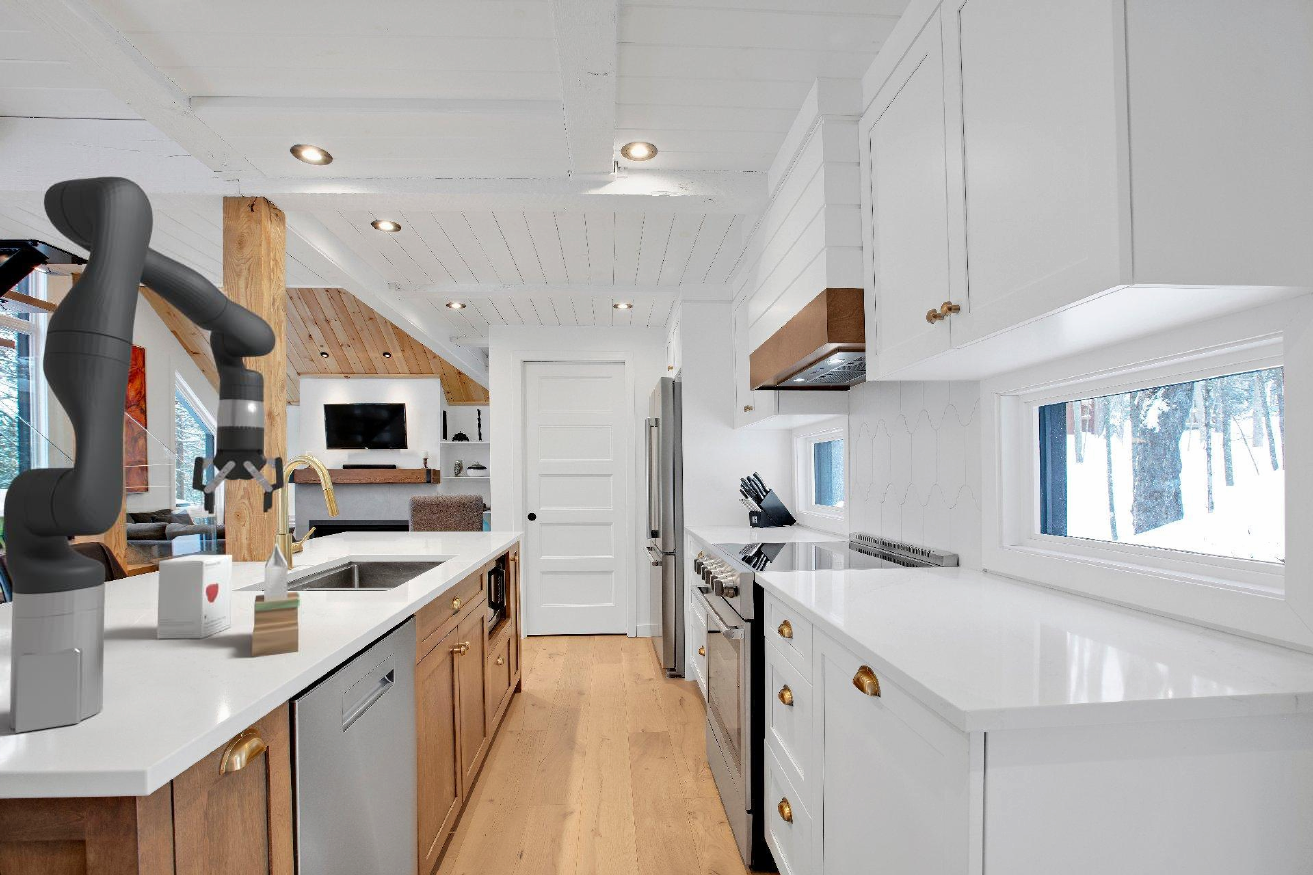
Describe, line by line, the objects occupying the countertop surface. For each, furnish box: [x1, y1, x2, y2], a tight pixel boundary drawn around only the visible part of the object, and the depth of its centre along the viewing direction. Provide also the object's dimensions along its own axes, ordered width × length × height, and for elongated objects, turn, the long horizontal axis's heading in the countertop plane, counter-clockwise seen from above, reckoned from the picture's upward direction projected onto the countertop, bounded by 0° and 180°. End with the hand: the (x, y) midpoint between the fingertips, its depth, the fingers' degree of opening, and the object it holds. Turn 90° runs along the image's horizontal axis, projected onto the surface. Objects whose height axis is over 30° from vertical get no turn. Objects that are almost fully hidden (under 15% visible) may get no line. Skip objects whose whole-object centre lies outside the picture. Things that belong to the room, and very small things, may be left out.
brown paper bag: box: [251, 591, 301, 658], centre depth 123 cm, size 15×7×8 cm, turn 29°
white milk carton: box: [263, 542, 288, 602], centre depth 126 cm, size 4×7×10 cm, turn 30°
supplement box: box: [156, 554, 233, 640], centre depth 131 cm, size 9×9×15 cm
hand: (239, 513), depth 122 cm, fingers open, 8 cm apart
